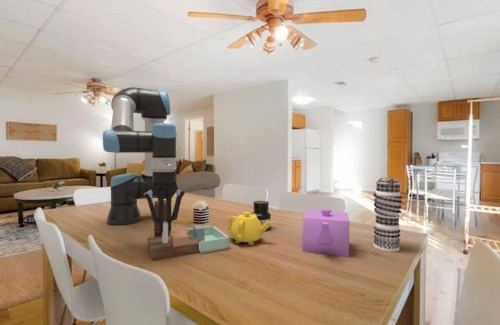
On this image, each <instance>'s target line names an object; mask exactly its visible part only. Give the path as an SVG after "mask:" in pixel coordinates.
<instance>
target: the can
mask: <svg viewBox="0 0 500 325" xmlns="http://www.w3.org/2000/svg"><path fill="white" fill-rule="evenodd" d="M153 205H154V209H155V213H156V216H157V218H158V200H157V201H154V202H153ZM164 221H167V220H166V199H163V222H164ZM153 222H154V221H153ZM153 229H154V230H153V231H154V233H153V234H154V237H160V236H162V233H160V232H159V223H158V222H154V223H153ZM170 234H171V232H168V235H170Z"/></svg>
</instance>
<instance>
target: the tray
mask: <svg viewBox="0 0 500 325" xmlns="http://www.w3.org/2000/svg"><path fill="white" fill-rule="evenodd" d="M203 227H204V234H205V241H200V242H198V243H199V252H198V253H200V254H201V255H202V254H207V253H213V252H218V251H225V250H228V249H230V248H231V247H230V245H231V244H230V240H231V239H230V236H229V235H227V234H226V233H224V232H223V231H222V230H220V229H219V228H218V227H216V226H215V225H207V226H203ZM187 230H188V231H187V233H190V234H191V235H192V237H193V227H191V228H188V229H187Z"/></svg>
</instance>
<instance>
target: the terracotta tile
mask: <svg viewBox="0 0 500 325" xmlns="http://www.w3.org/2000/svg"><path fill="white" fill-rule="evenodd" d="M186 233H187V232H185V231H183V232H182V231H181V232H175V233H170V234H169V235H170V237H171V244H172V246H173V247H178V246H185V245H189V236H188V235H187V234H186Z"/></svg>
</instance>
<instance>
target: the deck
mask: <svg viewBox="0 0 500 325" xmlns="http://www.w3.org/2000/svg"><path fill="white" fill-rule="evenodd" d="M185 233H186V234H187V235H188V236H189V245H185V246H178V247H173V246H172V244H171V237H170V234H169V235H168V243H163V242H162V236H160V237H156V236H153V237H152V236H151V237H147V248H148V251H149V254H150V256H151V259H152V261H158V260H164V259H169V258H176V257H181V256H186V255H187V256H188V255H191V254H192V255H193V254H198V253H200V252H199V243H198V242H197V241H196V240H195V239H194V238H193V237H192V235H191V234H190V233H188V232H185Z"/></svg>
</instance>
